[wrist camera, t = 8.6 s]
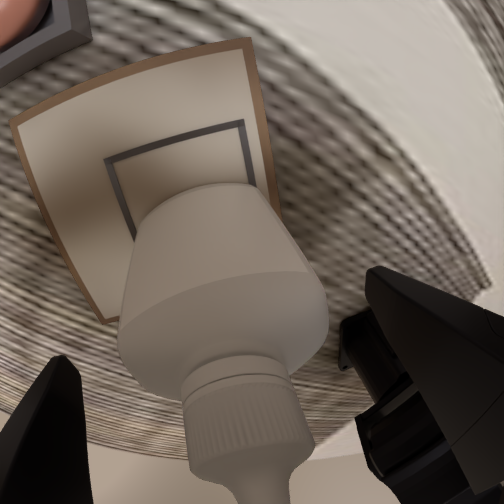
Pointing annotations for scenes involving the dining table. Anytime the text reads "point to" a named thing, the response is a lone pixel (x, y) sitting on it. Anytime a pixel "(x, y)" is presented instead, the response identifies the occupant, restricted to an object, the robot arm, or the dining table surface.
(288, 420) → the eye dropper bottle
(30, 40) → the button housing
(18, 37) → the button
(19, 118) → the board
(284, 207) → the dining table surface
